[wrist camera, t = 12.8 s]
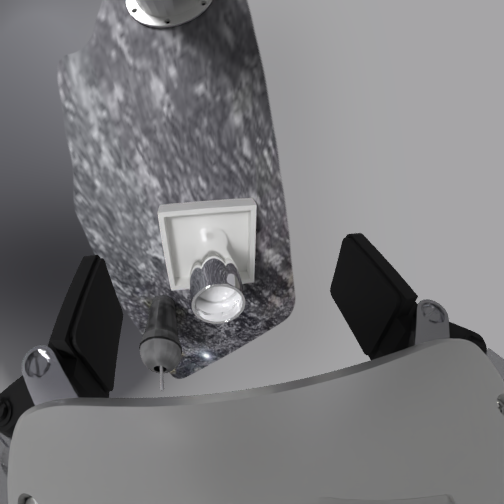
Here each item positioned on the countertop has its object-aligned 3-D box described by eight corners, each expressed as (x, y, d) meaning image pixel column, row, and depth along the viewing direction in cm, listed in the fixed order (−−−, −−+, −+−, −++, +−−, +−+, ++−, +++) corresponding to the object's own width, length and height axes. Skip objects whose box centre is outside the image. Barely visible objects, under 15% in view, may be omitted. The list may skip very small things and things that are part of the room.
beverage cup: (140, 309, 50) (131, 397, 34) (152, 284, 47) (142, 377, 31) (173, 320, 53) (174, 407, 37) (187, 297, 51) (191, 388, 34)
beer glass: (214, 215, 42) (225, 273, 30) (238, 245, 46) (257, 307, 34) (180, 239, 43) (177, 303, 31) (205, 267, 47) (213, 332, 35)
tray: (159, 205, 40) (157, 212, 37) (252, 197, 42) (256, 205, 40) (171, 279, 48) (171, 290, 45) (250, 272, 50) (254, 282, 48)
